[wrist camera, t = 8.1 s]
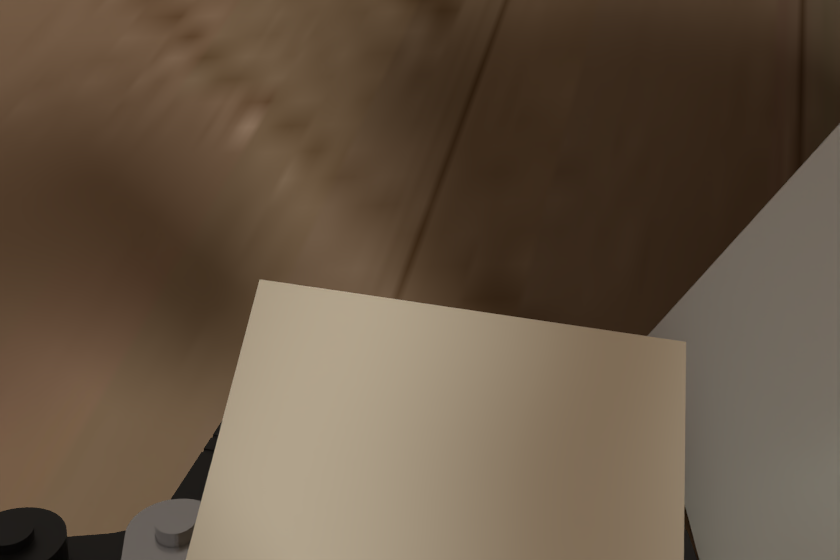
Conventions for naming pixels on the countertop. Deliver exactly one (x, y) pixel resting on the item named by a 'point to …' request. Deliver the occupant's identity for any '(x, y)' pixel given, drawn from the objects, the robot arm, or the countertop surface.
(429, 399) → the maple block
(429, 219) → the countertop surface
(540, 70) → the countertop surface
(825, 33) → the countertop surface
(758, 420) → the gable box
